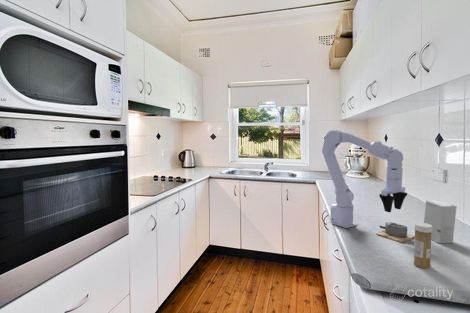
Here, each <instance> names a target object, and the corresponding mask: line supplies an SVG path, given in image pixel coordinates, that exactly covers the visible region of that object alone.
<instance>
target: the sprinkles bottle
mask: <svg viewBox="0 0 470 313" xmlns="http://www.w3.org/2000/svg"><path fill="white" fill-rule="evenodd" d="M431 233H432V225H430V224H427V223H424V222H420V221H419V222H415V223H414V236H415V237H414V238H413V240H414V242H413V243H414V245H413V265H415V266H416V267H417V268H420V269H425V270H426V269H430V268H431V266H432V265H431V257H432V240H431Z"/></svg>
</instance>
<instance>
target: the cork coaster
mask: <svg viewBox="0 0 470 313" xmlns="http://www.w3.org/2000/svg"><path fill="white" fill-rule="evenodd" d="M376 236H379V237H382V238H386V239H388V240H391V241H395V242H398V243H401V244H403V243H405V242H407V241H410V240H412V239H414V238H415V234H414V235H413V234H410V233H407V238H399V237H396V236H392V235H389V234H386V233H385V229H383V230H382V231H379V232H376Z"/></svg>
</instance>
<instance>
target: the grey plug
mask: <svg viewBox="0 0 470 313" xmlns="http://www.w3.org/2000/svg"><path fill="white" fill-rule="evenodd" d="M379 228H380V229H383V230H385V233H386V234H389V235H392V236H396V237H399V238H407V234H408V226H406V225H403V224H399V223H397V222H391V221H386V222H385V225H384V226H383V225H379Z"/></svg>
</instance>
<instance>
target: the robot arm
mask: <svg viewBox="0 0 470 313" xmlns="http://www.w3.org/2000/svg"><path fill="white" fill-rule="evenodd" d="M323 141H324V142H323V145H322V150H321V151H322V155H323V158H324V161H325V163H326V166H327V169H328V172H329V175H330V177H331V180H332V182H333V185H334V193H335V196H336V197H335V202H336V203H333V204H332V205H331V207H330V221H329V223H330V224H332V225H336V226H338V227H342V228H345V229H348V228H352V227H355V226H358V224H357V223H356V222H354V204H353V200H354V199H355V195H354V193H353V192H352V191H351V190H350V188H349V186H348V185H347V183H346V180H345V177H344V175H343V172H342V169H341V167H340V164H339V161H338V159H337V156H336V154H335V152H336V149H337V148H338V146H339V145H340V144H341V143H350V144H353V145H356V146H358V147H361V148H363V149H365V150H367V153H368V154H370V155H372V156H374V157H377V158H378V159H381V160H383V161H384V160H386V161H387V164H386V165H387V166H386V171H385V188H384V189H383V190H381V192H380V193H379V195H378V196H379V198H380V200H381V202H382V205H383V209H384V212H386V213H391V212H392V209H393V205H394V209H395V210H401V209H402V207H403V204H404V201H405V198H406V197H407V196H408V192H406V187H405V186H403V161H404V154H403V153H402V151H400V150H399V149H397V148H394V147H393V146H387V145H385V144H383V142H381V141H373V142H370V141H367V140H365V139H363V138H361V137H358V136H356V135H354V134H352V133H348V132H346V131H345V132H344V131H341V130H335V129H334V130H333V129H332V130H329V131H328V132H327V133H326V134H325V136H324V137H323Z"/></svg>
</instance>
